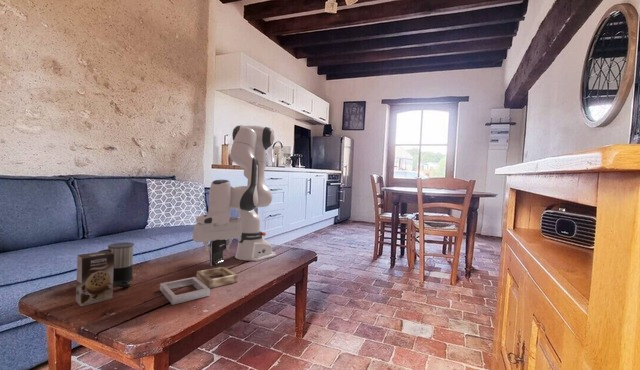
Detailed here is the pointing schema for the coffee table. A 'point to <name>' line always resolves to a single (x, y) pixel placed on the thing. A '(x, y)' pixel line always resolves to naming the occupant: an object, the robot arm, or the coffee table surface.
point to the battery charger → (217, 252)
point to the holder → (175, 299)
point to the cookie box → (94, 277)
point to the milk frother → (122, 263)
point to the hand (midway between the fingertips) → (217, 250)
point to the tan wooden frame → (210, 283)
